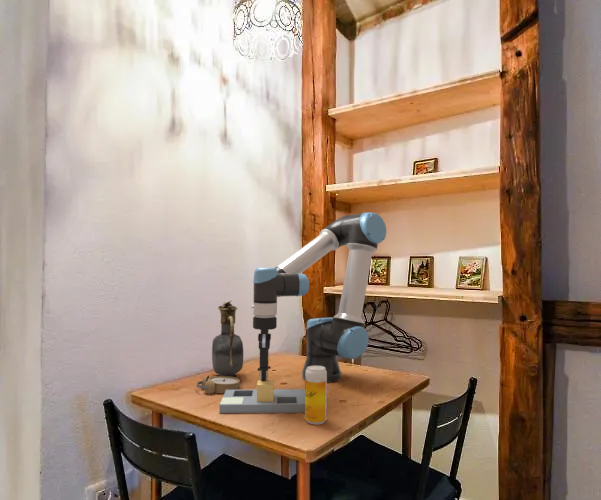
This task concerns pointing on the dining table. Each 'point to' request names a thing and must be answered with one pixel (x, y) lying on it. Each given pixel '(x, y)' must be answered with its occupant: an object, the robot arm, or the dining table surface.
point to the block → (265, 390)
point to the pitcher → (227, 344)
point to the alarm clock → (219, 384)
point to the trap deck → (263, 402)
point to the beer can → (315, 395)
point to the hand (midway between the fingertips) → (263, 390)
